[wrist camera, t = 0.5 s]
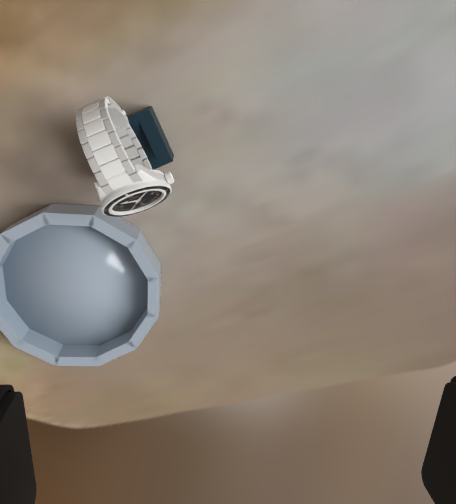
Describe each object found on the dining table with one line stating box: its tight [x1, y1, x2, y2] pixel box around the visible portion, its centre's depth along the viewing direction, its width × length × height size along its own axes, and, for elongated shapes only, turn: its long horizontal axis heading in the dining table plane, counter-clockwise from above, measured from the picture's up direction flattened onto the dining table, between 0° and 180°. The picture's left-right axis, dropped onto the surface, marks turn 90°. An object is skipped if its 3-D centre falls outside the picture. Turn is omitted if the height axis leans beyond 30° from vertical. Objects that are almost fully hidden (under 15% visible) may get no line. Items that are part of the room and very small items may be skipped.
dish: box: [0, 204, 161, 366], centre depth 39 cm, size 15×15×3 cm
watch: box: [76, 97, 174, 217], centre depth 31 cm, size 6×8×11 cm
